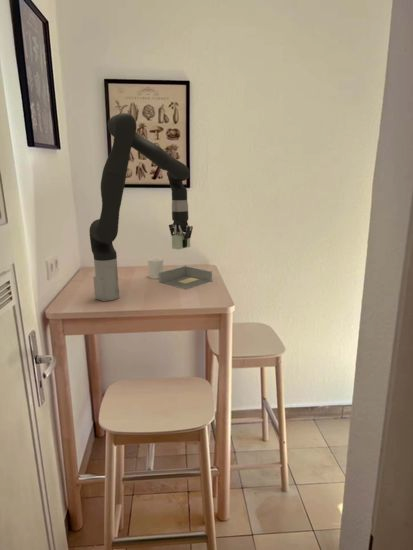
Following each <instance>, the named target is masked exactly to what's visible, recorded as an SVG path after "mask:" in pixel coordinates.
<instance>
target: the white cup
mask: <svg viewBox="0 0 413 550" xmlns="http://www.w3.org/2000/svg"><path fill="white" fill-rule="evenodd" d="M147 268H148V270H147V271H148V275H149V276H148V277H149V278H150V279H153V280H154V279H155V280H156V279H158V280H159V272H162V271H164V258H163V257H150V258H147Z"/></svg>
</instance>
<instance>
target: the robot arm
mask: <svg viewBox="0 0 413 550" xmlns="http://www.w3.org/2000/svg"><path fill="white" fill-rule="evenodd" d="M107 130H108V132H109V134H110V135H111V136H112V137H113V143H112V147H111V150H110V153H109V155H108V157H107V159H106V161H105V164H104V166H103V169H102V174H101V180H100V196H101V211H100V216H99V218H97V219H95V220H93V221H92V222H91V224H90V226H89V239H90V240H89V241H90V249H91V252H92V255H93V263H94V275H95V276H94V277H93V286H94V287H93V289H94V298H95V300H98V301H102V302H107V301H108V302H109V301H115V300H117V299H119V298H120V286H119V270H118V257H117V256H118V255H117V251H116V249H115V248H114V245H113V242H114V241H115V240H116V238H117V237H118V233H119V224H120V223H119V221H120V210H121V206H122V200H123V196H124V195H123V194H124V189H125V186H126V180H127V173H128V167H129V161H130V155H131V150H132V149H134V150H135V151H137V152H138V153H140V154H141V155H143V156H144V157H145V158H146V159H148V160H149V161H150V162H152V163H153V164H154V165H155V166H157V167H158V168H160V170H163V171H166V172H167V176H168V183H169V187H170V190H171V220H172V221H173V223H171V224H169V225H168V228H169V232H170V237H172V236H173V235H179V234H181V235H182V239H183V240H182V242H183V249H186V248H185V247H187V239H189V238H190V239H191V237H192V233H193V229H194V227H193V225H191V226H190V225H189V222H188V221H189V204H188V203H189V202H188V189H187V187H186V186H184V184H183V182H184V181H187V180H188V179H189V177H190V175H191V174H190V170H189V167H188V166H187V165H186V164H184V162H183V163H182V162H181V161H180V160H178V159H176V158H174V157H172V156H171V155H170V154H169V153H168V152H166V151H165V150H164V149H163V148H162V147H161V146H159V145H157V144H156V143H154V142H152V141H150V140H149V139H146V138H145V137H143V136H142V135H141V134H139V133H138V132H137V122H136V119H135V117H134V116H133V115H132V114H131V113H129V112H122V113H117V114H115V115H113V116H112V117H110V118H109V119H108V121H107ZM188 234H189V235H188ZM184 235H185V236H184ZM187 248H188V247H187Z"/></svg>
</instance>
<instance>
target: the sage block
mask: <svg viewBox="0 0 413 550" xmlns="http://www.w3.org/2000/svg"><path fill="white" fill-rule="evenodd" d="M188 235H189V234H188ZM184 236H185V235H184ZM182 240H183V239H182V235H181V233H180V234H179V235H173V236H171V246H172V247H171V248H172V249H173V250H181V249H187V248H191V238H189V239H187V247H185V248H183V242H182Z"/></svg>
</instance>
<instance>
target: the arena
mask: <svg viewBox="0 0 413 550" xmlns="http://www.w3.org/2000/svg"><path fill="white" fill-rule="evenodd" d="M211 282H213V270H210V269H204V268H199V267H194V266H189V265H183V266H178V267H175V268H170V269H166V270H163V271H162V272H159V278H158V283H159V284H162V285H163V284H164V285H167V286H171V287H176V288H178V289H182V290H186V291H187V290H190V289H192V288H195V287H198V286H201V285H205V284H207V283H211Z"/></svg>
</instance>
